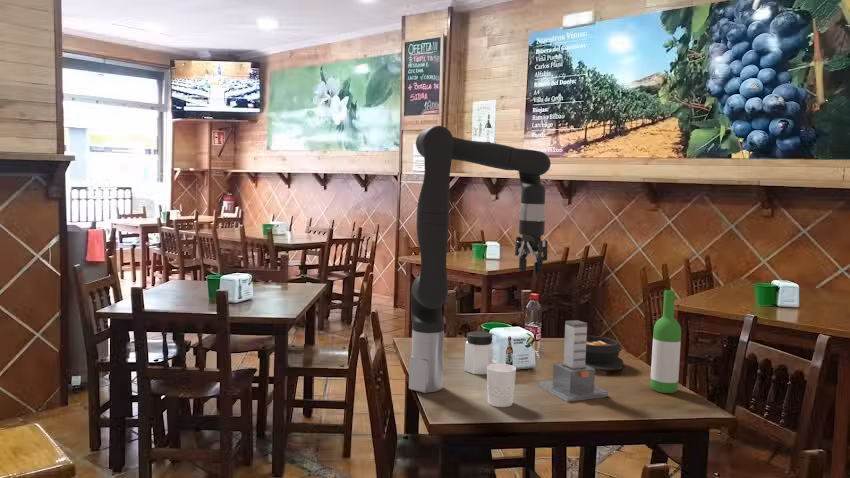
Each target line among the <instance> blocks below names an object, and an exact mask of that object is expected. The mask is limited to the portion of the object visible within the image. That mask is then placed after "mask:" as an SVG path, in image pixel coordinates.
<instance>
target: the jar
mask: <svg viewBox="0 0 850 478" xmlns="http://www.w3.org/2000/svg"><path fill="white" fill-rule="evenodd" d="M464 349H465V350H464V351H465V352H464V372H467V373H469V372H470V373H469V374H472V375H487V366H488V365H490V364H493V354H494V353H493V352H494V341H493V334H492V333H490V332H488V331H479V330H478V331H477V330H476V331H475V330H474V331H469V332H467V333H466V342H465V346H464Z"/></svg>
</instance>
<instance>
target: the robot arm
mask: <svg viewBox="0 0 850 478" xmlns="http://www.w3.org/2000/svg"><path fill="white" fill-rule="evenodd" d="M415 147H416V151H418V153H419V154H420V156H421V157H423V158H424V175H423V182H422V186H421V189H420V193H419V195H418V200H417V208H416V235H417V236H416V237H417V242H418V243H417V244H418V248H419V252H420V253H419V254H420V261H421V262H420V273H419V275H418V276H417V277H416V278H414V280H413V282H412V285H411V291H410V317H411V323H412V324H411V325H412V327H411V329H412V330H411V331H412V333H411V356H409V364H408V365H409V367H408V368H409V371H408V389H409V390H412V391H416V392H420V393H423V394H427V393H434V392H439V391H441V390H442V389H443V378H444V377H443V376H444V375H443V374H444V373H443V371H444V343H445V342H444V341H445V321H444V320H445V319H444V317H443V309H442V307H443V305H444V304H445V302H446V301H447V298H448V295H449V294H448V293H449V285H448V270H447V253H448V243H449V229H450V227H449V226H450V197H451V196H450V194H451V193H450V190H451V189H450V187H451V186H450V177H451V176H450V175H451V167H452V161H461V162H466V163H471V164H476V165H480V166H484V167H489V168H494V169H499V170H503V171H517V172H518V174H519V182H520V187H521V194H520V195H521V196H520V209H519V219H518V221H519V225H518V233H519V235H520V236H516V237H515V251H514V255H515V256H516V257H517V258H518V259H519V260H518V271H520V272H526V271H527V264H528V261H527V260H528V259H527V258H528V255H529V254H530V255H531V257H533V260H534V264H533V275H535V276H541V275H542V273H543V272H542V271H543V263H544V262H546V261H548V240H546V239H544V240H543V239H542V236H544V235H545V229H546V228H545V227H546V223H545V222H546V205H545V203H546V188H545V186H544V185H543V184H542V183H541V176H542V175H544V174H546V173H548V171H549V170H550V168H551V159H550V157H549V155H548V154H546V153H545V152H543V151H540V150H535V149H526V148H525V149H524V148H518V147H514V146H511V145H506V144H502V143H501V144H500V143H494V142H490V141H478V140H469V139H463V138H458V137H455V136H453V133H451V131H450V130H449V129H448V128H447V127H445V126H443V125H433V126H430V127H427V128H425V129H423V130H422V131H420V132H419V134H418V135H417V137H416V139H415Z"/></svg>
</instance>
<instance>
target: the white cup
mask: <svg viewBox="0 0 850 478" xmlns="http://www.w3.org/2000/svg"><path fill="white" fill-rule="evenodd" d="M516 374H517V368H516V366H514V365H511V364H507V363H492V364H490V365H488V366H487V374H486V387H487V388H486V389H487V390H486V391H487V404H489V405H490V406H492V407H498V408H507V407H511V406H512V405H513V401H514V393H515V385H516V376H517V375H516Z"/></svg>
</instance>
